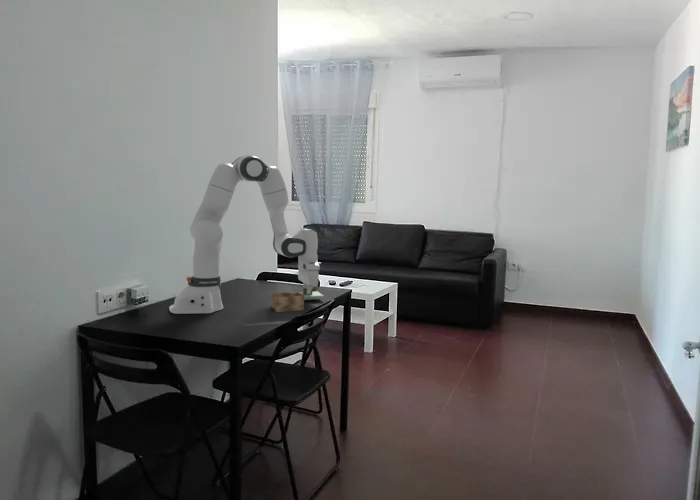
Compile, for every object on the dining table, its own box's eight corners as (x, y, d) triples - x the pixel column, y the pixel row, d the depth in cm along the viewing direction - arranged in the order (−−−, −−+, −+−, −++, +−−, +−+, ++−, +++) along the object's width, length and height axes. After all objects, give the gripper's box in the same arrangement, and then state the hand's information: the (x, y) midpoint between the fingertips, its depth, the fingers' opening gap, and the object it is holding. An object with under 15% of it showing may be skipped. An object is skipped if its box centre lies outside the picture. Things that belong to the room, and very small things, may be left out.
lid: (297, 301, 264) (297, 291, 263) (291, 296, 273) (291, 287, 272) (323, 299, 269) (323, 290, 268) (317, 295, 277) (317, 286, 277)
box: (276, 313, 247) (276, 297, 246) (271, 308, 255) (271, 293, 254) (303, 311, 251) (304, 295, 250) (298, 307, 260) (298, 291, 259)
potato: (296, 296, 283) (297, 280, 282) (306, 291, 295) (306, 275, 294) (313, 297, 280) (313, 281, 279) (322, 292, 293) (322, 277, 292)
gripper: (295, 260, 277) (294, 289, 279) (307, 267, 258) (307, 297, 260) (307, 260, 279) (307, 288, 281) (321, 266, 260) (320, 297, 262)
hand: (307, 293), depth 270 cm, fingers closed on lid, 2 cm apart
